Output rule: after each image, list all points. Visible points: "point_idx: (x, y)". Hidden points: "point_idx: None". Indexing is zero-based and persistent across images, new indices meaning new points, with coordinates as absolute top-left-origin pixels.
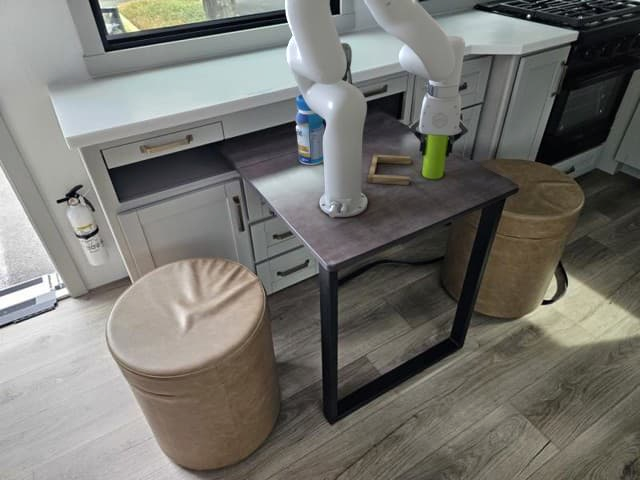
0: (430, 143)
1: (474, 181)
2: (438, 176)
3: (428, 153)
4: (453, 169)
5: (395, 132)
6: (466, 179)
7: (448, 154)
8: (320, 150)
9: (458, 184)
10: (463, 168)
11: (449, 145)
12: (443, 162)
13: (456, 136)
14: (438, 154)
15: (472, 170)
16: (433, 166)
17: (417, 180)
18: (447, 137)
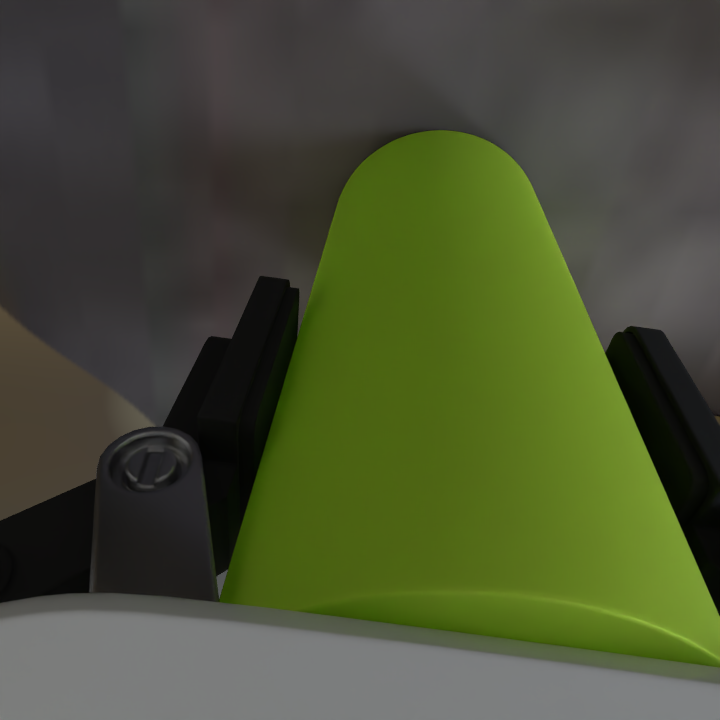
0: (632, 452)
1: (19, 82)
2: (390, 150)
3: (586, 322)
4: (233, 312)
5: None
6: (104, 127)
7: (259, 294)
8: None
9: (178, 6)
10: (150, 325)
11: (222, 398)
12: (335, 246)
13: (28, 574)
14: (430, 270)
15: (72, 292)
16: (472, 187)
17: (629, 102)
18: (243, 562)
